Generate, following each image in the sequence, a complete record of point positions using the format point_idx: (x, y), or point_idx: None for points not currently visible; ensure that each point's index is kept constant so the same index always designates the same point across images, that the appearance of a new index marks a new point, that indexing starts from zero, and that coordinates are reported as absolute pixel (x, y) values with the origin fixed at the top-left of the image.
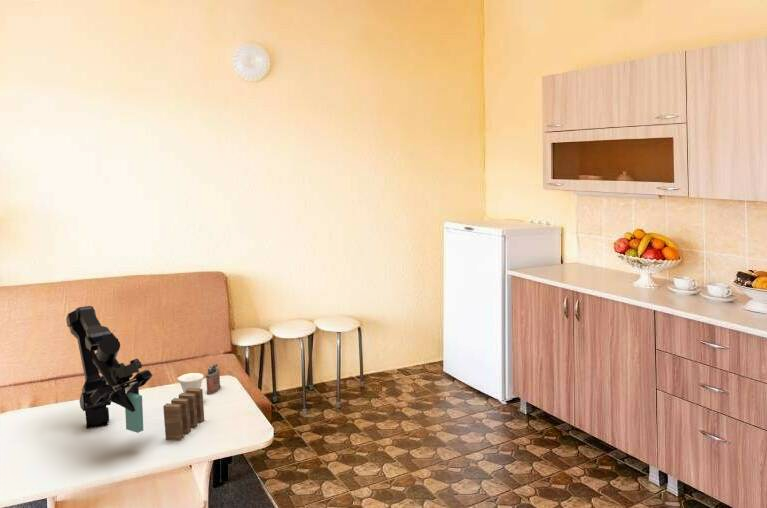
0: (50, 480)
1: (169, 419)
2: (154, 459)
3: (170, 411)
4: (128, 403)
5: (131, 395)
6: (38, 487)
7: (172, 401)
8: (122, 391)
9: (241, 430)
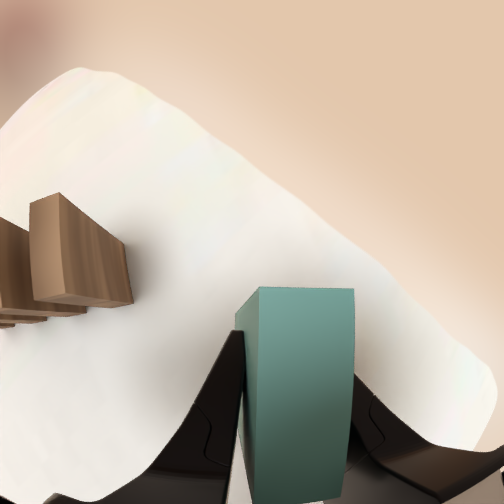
0: (457, 390)
1: (96, 269)
2: (275, 222)
3: (75, 251)
4: (357, 378)
5: (330, 414)
6: (478, 378)
7: (4, 298)
8: (450, 466)
9: (40, 130)
